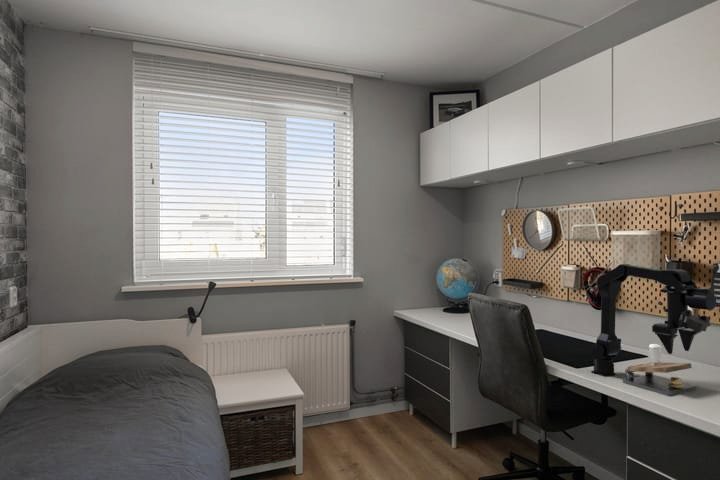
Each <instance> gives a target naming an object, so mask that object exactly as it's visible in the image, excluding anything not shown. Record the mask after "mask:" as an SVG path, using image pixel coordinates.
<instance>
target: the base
mask: <svg viewBox="0 0 720 480" xmlns="http://www.w3.org/2000/svg"><path fill="white" fill-rule="evenodd" d="M634 373H635V372H631V373H626V372H625V375H626V378H623V379H622V383H623V384H626V385H630V386H633V387H636V388H640V389H643V390H646V391H650V392H654V393H657V394H660V395H663V396H666V397H669V396H674V395H679V394H682V393H686V392H690V391H695V390H697V388H698V387H697V385H695V384H691V383H687V382H683V381H682V378H681V377H677V376H671V377H670V378H668V377H664V376H660V375H656V374H654V372H644V373H645V374H643V375H638V376H634Z"/></svg>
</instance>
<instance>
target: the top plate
mask: <svg viewBox="0 0 720 480" xmlns="http://www.w3.org/2000/svg"><path fill="white" fill-rule="evenodd" d="M692 368H693V367H692V363H687V362H660V363H656V362H651V361H650V362H647V361H646V362H643V363H641V364H635V365H630V366H627V368H625V369H624V372H625V374H626V373H631V372H632V373H635V372H636V373H637V372H638V373H639V372H642V373H645V372H653V373H662V374H663V373H664V374H665V373H666V374H667V373H673V372H679V371H683V370H687V369H688V370H689V369H692Z"/></svg>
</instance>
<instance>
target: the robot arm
mask: <svg viewBox="0 0 720 480" xmlns="http://www.w3.org/2000/svg"><path fill="white" fill-rule="evenodd" d="M628 277H636V278H640V279H646V280H652V281H655V282H658V283H659V284H661V285H664V287H663V288H661V289H660V290H659V292H660V293H666V308H664V309H663V311H664V313H667V318H666V319H667V320H664V323H663V322H659V323H654V324H653V325H652V326H651V327H652V329H651V331H652V333H654V335H656V336H657V337H658V339H659V340H660V342H661V345H662V344H663V345H662V346H663V347H664V349H665V350H666V353H667V354H669V355H672V354H673V349H674V340H675V339H676V338H677V337H678V336H680V340H681V343H682V347H683V349H684V351H685V352H689V351H690V348H691V345H692V343H693V341H694V338H695V336H697V335H698V334H700V333H702V332H707V328H708V327H711V320H710V317H709V316H707V315H705V314H704V315H703V314H702V315H700V316H697V315H693V312H692V309H698V310H706V311H713V310H714V309H715V308H716V306H717V298H716V296H715V294H714V293H713V291H712V288H699V287H698V286H697V284H696V283H695V282H694V281H693V279H692V277H691V276H690V273H689V272H688V271H687V270H685V269H658V268H653V267H652V268H650V267H645V266H639V265H632V264H629V263H625V264H618V265H617V266H616V267H615V268H613V269H611V270H610V271H607V272H605V274H601V275H600V276H598V277H597V279H596V285H597V286H596V287H597V292H598V293H599V295H600V296H601V305H600V307H601V308H600V313H601V314H600V317H601V318H600V332H599V335H598V337H597V338H596V341H595V347H594V348H592V349H591V351H590V352H589V356H590V358H591V359H593V370H590V373H593V374H596V375H599V376H602V377H603V376H604V377H608V376H609V377H610V376H614V375H617V372H615V364H614V359H615V358H617V356H618V354H619V353H620V350H621V349H622V346H621V344H622V338H618V336H617V334H616V310H617V309H616V305H617V303H616V302H617V301H616V300H617V297H618V295H619V293H620V291H621V287H622V283H623V282H625V281H626V280H627V279H628ZM689 308H691V309H689ZM677 333H678V334H677Z"/></svg>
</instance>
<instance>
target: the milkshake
mask: <svg viewBox="0 0 720 480" xmlns="http://www.w3.org/2000/svg"><path fill="white" fill-rule="evenodd" d="M663 346H664V345H663V344H662V343H661V345H660V344H657V343H650V344H649V345H648V351H649V357H650V358H649V360H650V362H656V363H662V362H661V361H662V360H661V359H662V349H663V348H662V347H663Z"/></svg>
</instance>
